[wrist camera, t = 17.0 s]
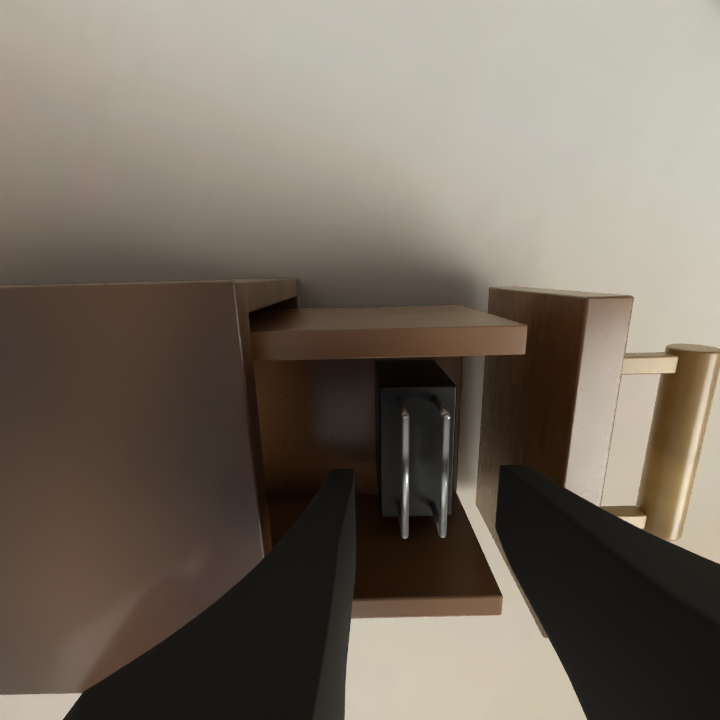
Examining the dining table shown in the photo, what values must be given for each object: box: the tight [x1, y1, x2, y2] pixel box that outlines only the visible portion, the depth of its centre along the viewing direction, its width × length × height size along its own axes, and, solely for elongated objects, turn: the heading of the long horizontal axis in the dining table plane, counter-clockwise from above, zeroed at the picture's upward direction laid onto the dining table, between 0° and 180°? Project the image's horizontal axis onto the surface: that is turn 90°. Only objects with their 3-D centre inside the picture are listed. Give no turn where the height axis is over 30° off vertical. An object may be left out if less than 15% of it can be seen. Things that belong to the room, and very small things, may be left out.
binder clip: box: [374, 360, 457, 539], centre depth 13 cm, size 3×5×5 cm, turn 1°
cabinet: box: [0, 278, 301, 695], centre depth 13 cm, size 15×12×9 cm
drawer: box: [248, 287, 720, 638], centre depth 13 cm, size 18×11×7 cm, turn 91°
